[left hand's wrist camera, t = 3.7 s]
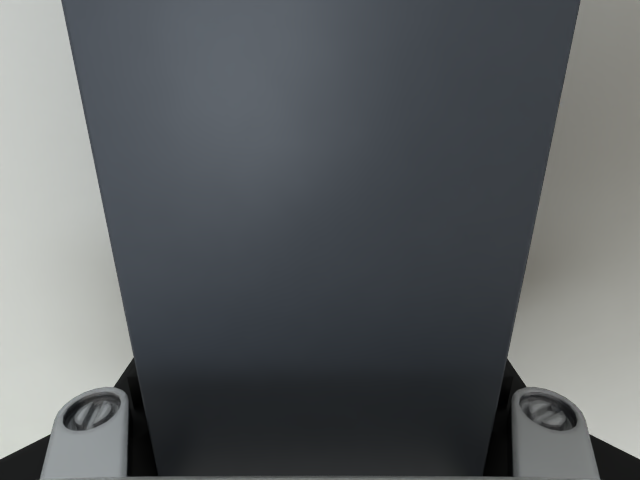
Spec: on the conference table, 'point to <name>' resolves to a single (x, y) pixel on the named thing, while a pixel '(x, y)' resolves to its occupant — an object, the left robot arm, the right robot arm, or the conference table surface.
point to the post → (320, 219)
